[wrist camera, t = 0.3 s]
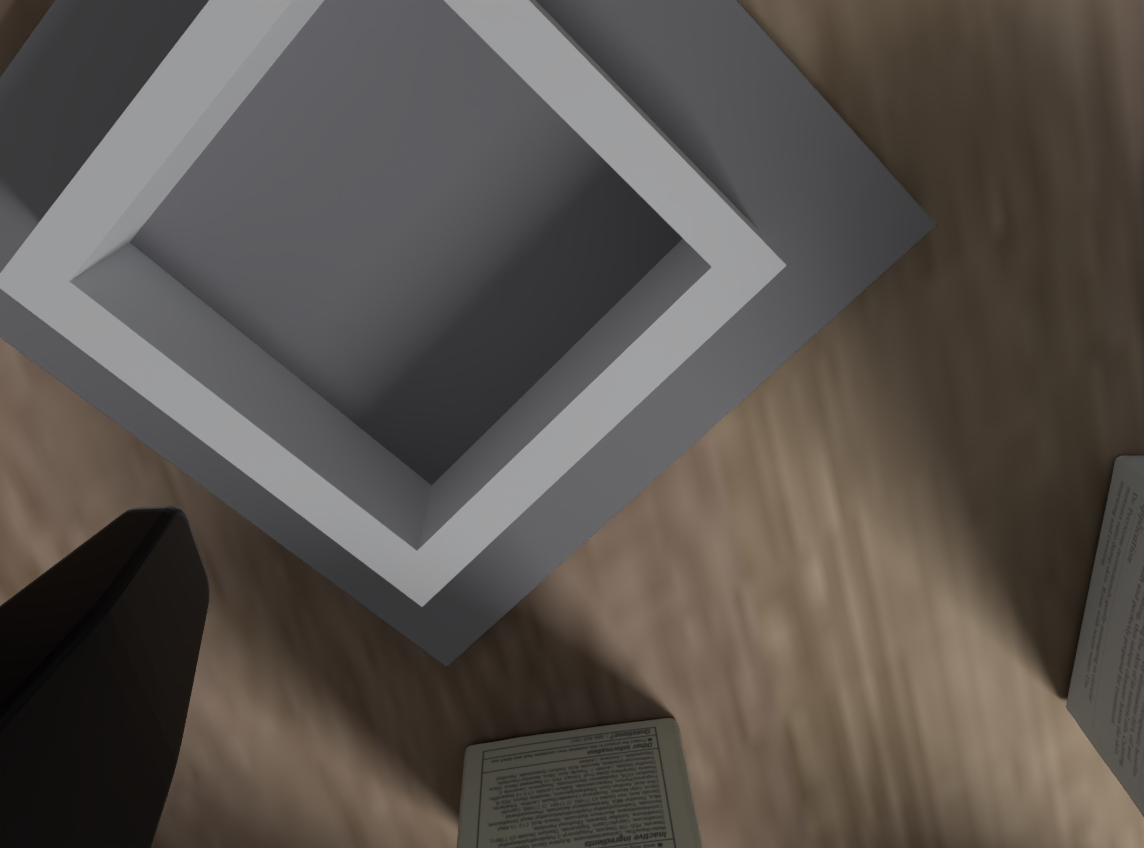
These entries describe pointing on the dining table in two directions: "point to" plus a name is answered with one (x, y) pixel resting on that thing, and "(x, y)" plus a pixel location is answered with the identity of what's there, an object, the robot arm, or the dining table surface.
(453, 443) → the socket stand
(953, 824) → the dining table surface
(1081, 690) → the skincare box
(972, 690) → the dining table surface
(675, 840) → the skincare box
